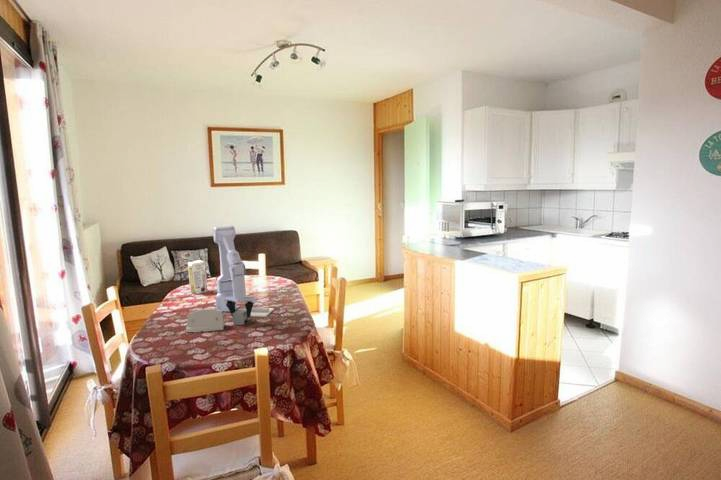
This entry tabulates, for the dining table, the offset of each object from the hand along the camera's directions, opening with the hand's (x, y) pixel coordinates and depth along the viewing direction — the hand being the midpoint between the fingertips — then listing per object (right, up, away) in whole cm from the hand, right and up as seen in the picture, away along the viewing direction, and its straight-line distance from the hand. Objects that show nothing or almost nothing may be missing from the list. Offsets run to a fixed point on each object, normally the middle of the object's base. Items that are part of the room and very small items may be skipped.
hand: (241, 316), depth 193 cm
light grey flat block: (-14, -5, -6) cm, 16 cm away
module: (0, -3, +1) cm, 3 cm away
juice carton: (-41, +5, +52) cm, 67 cm away
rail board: (+4, 0, +13) cm, 13 cm away
